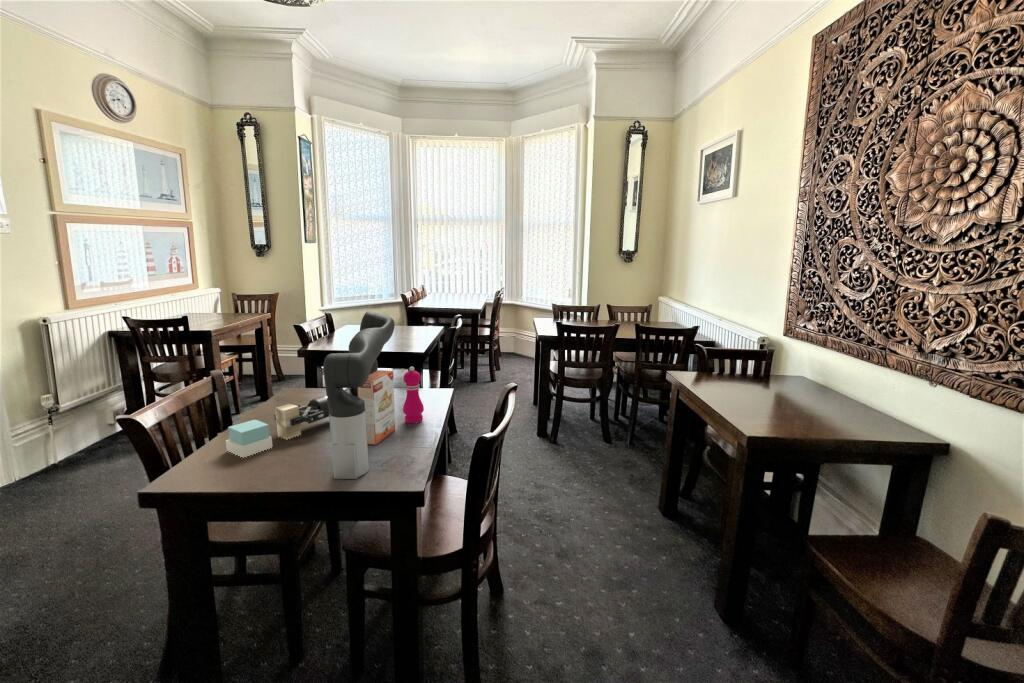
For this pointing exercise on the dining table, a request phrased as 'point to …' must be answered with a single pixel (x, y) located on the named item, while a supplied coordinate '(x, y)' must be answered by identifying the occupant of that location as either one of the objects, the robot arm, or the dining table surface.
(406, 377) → the pepper mill
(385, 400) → the cracker box
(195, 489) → the dining table surface
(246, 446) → the tower base
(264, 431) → the tower top
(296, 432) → the birch post
